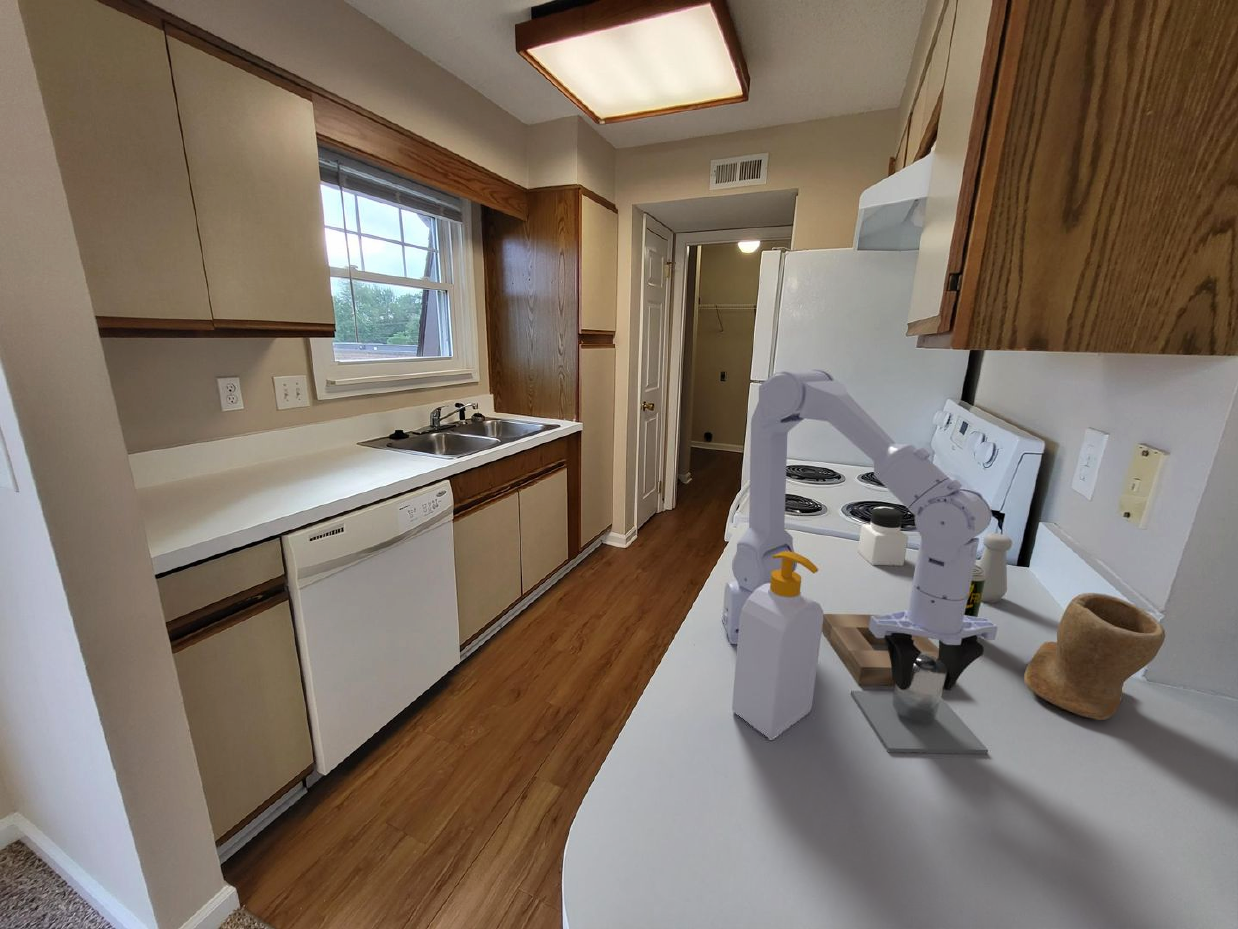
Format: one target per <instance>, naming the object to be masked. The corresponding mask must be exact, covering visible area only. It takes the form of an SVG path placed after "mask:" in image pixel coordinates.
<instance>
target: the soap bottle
mask: <svg viewBox="0 0 1238 929" xmlns="http://www.w3.org/2000/svg"><path fill="white" fill-rule="evenodd" d="M794 552H795V551H794ZM794 552H790V551H785V552H781V553H779V554H776V555H774V556H773V559H775V558H783V559H782V568H781V569H778V570H774V571H773V572H772V573H771V583H767V584H763V585H762V586H760V587H759V588H757V589H756V590H755V591H754V592H753V593H752V594H751V596H750V597H749V598H748V599H747V601H746V603H745V605H744V607H743V609H742V612H741V615H740V619H739V631H738V643H737V644H736V657H735V667H734V669H735V670H734V678H733V691H732V704H731V710H732V712H733V711H734V712H735V713H737V714H738V715H739V716H740V717H742V718H743V719H744V720H746V721H747V722H748V723H749V724H751V725H752V726H753V727H755V728H756V729H757V730H759V731H760V732H761V733H762V734H764V735H765V736H767V737H768V738H769V739H773V738H774V737H775V736H777V735H779V734H780V733H781V734H783V733H784V732H785V731H787V730H788V729H789V728H791V727H792V726H793V724H794V725H795V724H796V723H797V721H798V722H799V721H800V720H801V718H802V719H803V718H804V717H805V715H806V716H807V715H809V713H810V712H811V711H812V707H813V699H814V692H815V684H816V679H817V678H816V676H817V671H818V670H817V669H818V662H819V656H820V655H819V654H820V646H821V641H822V640H821V638H822V634H823V633H822V625H823V614H824V610H823V608H822V606H821V604H820V603H819V602H817V601H815V600H813V599H811V598H808V597H807V596H803V595H802V592H801V584H802V576H801V575H800V574H799V573H797V572H795V571H794V572H793V571H792V570H793V561H794V562H796V563H797V564H799V565H801V566H803V567H804V568H806V569H807V570H808V571H810V572H811V573H812V574H816V573H818V571H819V570H820V569H819V568H818V567H817V566H816V565H815V563H813V562H812V561H811V560H810V559H808V558H807V557H805V556H804V555H801V554H799V553H798V552H797V553H796V552H795V553H794ZM734 712H733V713H734ZM735 713H734V714H735ZM738 715H737V716H738ZM739 716H738V717H739ZM740 717H739V718H740ZM743 719H742V720H743ZM744 720H743V721H744ZM747 722H746V723H747ZM748 723H747V724H748ZM749 724H748V725H749ZM751 725H750V726H751ZM791 725H792V726H791ZM752 726H751V727H752ZM790 726H791V727H790ZM753 727H752V728H753ZM755 728H754V729H755ZM787 728H788V729H787ZM756 729H755V730H756ZM786 729H787V730H786ZM757 730H756V731H757ZM784 730H785V731H784ZM783 731H784V732H783ZM760 732H759V733H760ZM782 732H783V733H782ZM761 733H760V734H761ZM762 734H761V735H762ZM781 734H780V735H781ZM764 735H763V736H764ZM780 735H779V736H780ZM765 736H764V737H765ZM777 737H778V736H777ZM768 738H767V739H768ZM769 739H768V740H769ZM773 740H774V739H773Z"/></svg>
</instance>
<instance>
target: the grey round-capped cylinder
mask: <svg viewBox="0 0 1238 929" xmlns="http://www.w3.org/2000/svg"><path fill="white" fill-rule="evenodd" d="M946 674H947V668H946V666H945V665H944V664H943V663H942V662H941V661H940V660H938V659H937V658H935V657H933V656H931V655H929V654H926V653H923V652H921V654H920V655H919V656H918V658H917V659H916V661H915V663H914V665H913V668H912V671H911V675H910V680H909V685H908V687H907V689H906V690H901V689H899V687H898V686H897V685H895V686H894V690H893V691H894V694H893V699H892V704H893V707H894V708H895V710H896V711H897V712H898V713H899V714H901V715H902V716H903V717H905V718H907V719H909V720H911V721H914V722H917V723H922V724H928V723H932V722H934V721H935V719H936V716H937V712H938V707H939V703H940V699H941V698H942V694H943V690H944V688H943V687H944V683H945V679H946Z"/></svg>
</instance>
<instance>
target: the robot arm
mask: <svg viewBox="0 0 1238 929" xmlns="http://www.w3.org/2000/svg"><path fill="white" fill-rule="evenodd" d="M804 419H806V420H814V421H815V420H816V421H821V422H822V421H823V422H827V423H829V424H830V425H831V426H832V427H834V428H835V429H836V430H837V431H838V432H840V434H842V435H843V436H844V437H845V438H846V439H848V441H850V443H852V444H853V445H854V446H855V447H857V448H858V449H859V450H860V451H861V452H862V453H864V454H865V455H866V457H867V458H870V459H871V461H872V462H873V475H874V477H876V479H877V480H878V481H879V482H880V483H881V484H882V485H883V486H885V487H886V489H887V490H888V491H890V493H892V494H893V496H894V497H896V499H897V500H899V502H901V504H902V505H903V506H905V508H906V509H907V510H908V511H909V512H911V514H913V515H914V524H915V528H916V530H917V533H918V534H919V536H920V537H921V538H920V542H919V547H918V552H917V557H916V562H915V568H914V574H913V578H912V584H911V590H910V594H909V595H910V596H909V601H908V608H907V609H904V610H900V611H896V612H895V611H894V612H891V613H887V614H878V615H879V616H871V619H870V625H869V630H870V631H871V632H872V633H873V635H874V636H875V637H876V638H884V640H885V643H886V644H885V645H886V648H887V651H888V652H889V656H890V661H891V667H892V680H893V681H894V682H895V683H896V685H897V686H898V687H899V689H901V690H906V689H907V687H908V685H909V680H910V675H911V671H912V668H913V665H914V663H915V661H916V659H917V658H918V656H919V655H920V654H921V652H920V651H919V649H918V648H917V647H916V646H915V645H914V644H913V643H914V640H912V636H921V637H926V638H928V639H932V640H938V649H939V655H938V660H940V661H941V662H942V663H943V664H944V665H945V666H946V668H947V674H946V679H945V683H944V687H943V690H944V691H946V692H947V691H948V692H949V691H950V692H951V690H952V688H953V685H954V684H955V682H956V683H957V681H958V679H959V678H960V676H961V675H962V674H963V672H964V671H966V669H967V667H969V665H971V664H972V663H973V662H975V660H977V659H979V658H981V657H982V656H983V654H984V651H985V647H984V646H983V645H982V644H981V643H980V642H979V641H978V638H979V637H980V638H981V637H982V638H983V639H984V640H987V641H995V640H996V636H997V632H998V625H997V624H995V623H994V621H991V619H989V618H987V617H982V616H980V617H979V616H978V617H972V616H966V615H964V614H965V609H966V604H967V600H968V595H969V591H970V586H971V581H972V576H973V572H974V567H975V565H976V562H977V561H976V557H977V551H978V547H979V544H980V538H979V537H978V536H980V535H981V534H982V533H983V532H985V531H986V530H987V529H988V528H989V526H990V524H991V522H992V516H993V514H992V509H991V508H990V505H989V503H988V502H987V501H986V499H984V498H983V496H982V494H981V493H980V492H978V491H977V490H974V489H972V488H966V487H962V486H963V484H962V483H961V482H960V481H959V480H958V479H956V478H955V479H953V480H952V479H951V478H950V477H949V476H948V475H947V474H946V473H945V472H943V471H942V470H941V469H940V468H939V467H938V466H937V465H936V464H935V463H934V462H933V461H931V459H929V457H930V456H931V453H930V452H929V451H928V450H927V449H926V448H924V447H919V448H917V447H916V446H915V445H914V444H909V443H908V444H907V443H905V444H904V443H903V444H902V443H901V444H900V443H896V442H895V440H894V439H893V438H892V437H891V436H890V435H889V434H888V433H886V432H885V430H884V429H883V428H882V427H881V426H880V425H879V424H878V423H877V422H876V421H875V420H874V419H873V418H872V416H870V415H869V414H868V413H867V412H866V411H865V410H864V409H863V407H861V405H859V404H858V402H857V401H856V400H855V399H854V398H853V396H851V395H850V394H849V392H848V391H847V389H846V387H845V385H844V384H843V383H841V382H840V381H838V380H835V378H834V377H833V376H832V374H830V372H828V371H825V370H824V369H813V370H812V369H811V370H803V371H802V370H800V371H798V370H797V371H787V370H780V371H776V372H774V373H773V374H771V375H769V377H767V379H766V380H765V381H763V382H762V383H761V384H759V386H758V402H757V404H756V406H755V409H754V412H753V414H752V416H751V421H750V448H749V449H750V453H749V454H750V456H749V463H750V464H749V498H748V499H749V502H748V504H749V505H748V506H749V508H748V510H749V511H748V512H749V513H748V528H746V531H745V532H744V533H743V534H742V536H741V537H740V538H739V540H738V541H737V542H736V551H735V554H734V556H733V558H732V562H731V569H732V570H731V571H732V575H733V577H734V581H729V582H726V583H725V586H724V595H723V607H722V615H721V620H723V621H722V624H723V623H724V624H723V626H724V629H725V632H726V634H728V635H727V638H728V641H729V642H730V644H732V645H737V643H738V631H739V619H740V615H741V612H742V609H743V607H744V605H745V603H746V601H747V599H748V598H749V597H750V596H751V594H752V593H753V592H754V591H755V590H756V589H757V588H759V587H760V586H762V585H763V584H767V583H771V573H772V572H773V571H774V570H778V569H781V568H782V559H783V558H775V559H773V556H774V555H776V554H779V553H781V552H785V551H790V552H794V553H796V552H795V550H794V544H793V543H794V542H793V539H794V537H793V536H792V535H791V534H790V533H789V532H788V531H787V530H786V529H785V519H786V517H785V516H786V490H787V488H786V487H787V464H788V463H787V461H788V460H787V459H788V458H787V457H788V455H787V454H788V434H789V432H790V431H791V430H793V429H794V428H795V427H796V426H797V425H799V424H800V423H801V422H802V421H803V420H804ZM797 566H798V563H796V562H794V561H793V570H792V571H793V572H795V571H796V569H797Z"/></svg>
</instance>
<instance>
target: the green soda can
mask: <svg viewBox="0 0 1238 929" xmlns="http://www.w3.org/2000/svg"><path fill="white" fill-rule="evenodd" d="M985 581H986V577H985V570H984V569H983V568H981V567H979V566H978V564H975V567H974V572H973V576H972V581H971V586H970V591H969V595H968V600H967V604H966V609H965V614H964V615H966V616H972V617H979V613H980V612H979V611H980V607H981V603H982V601H981V599H982V594H983V590H984V585H985Z"/></svg>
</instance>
